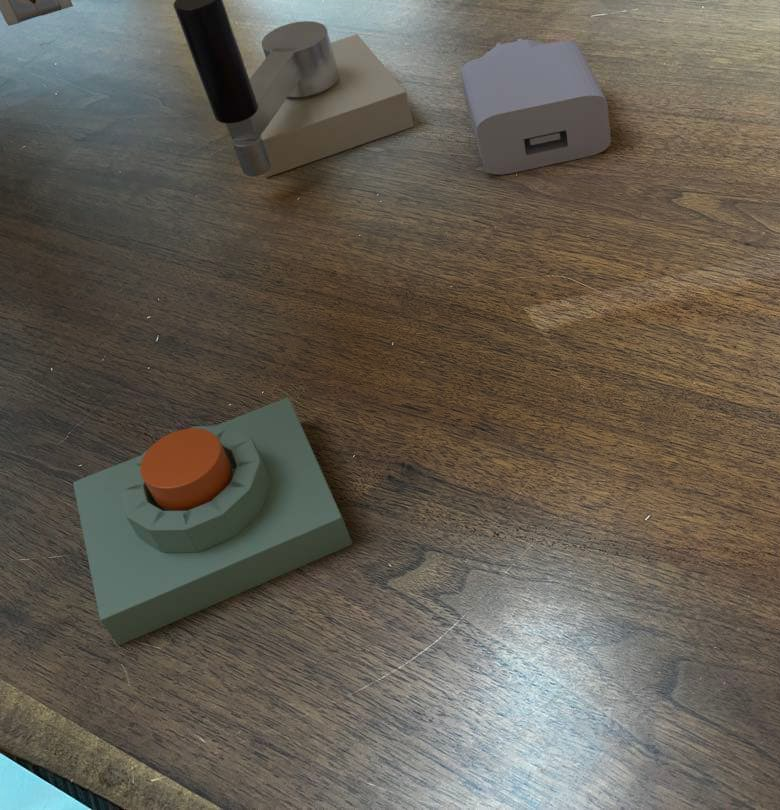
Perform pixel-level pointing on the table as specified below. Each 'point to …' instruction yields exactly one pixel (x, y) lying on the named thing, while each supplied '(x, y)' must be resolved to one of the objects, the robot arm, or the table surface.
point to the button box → (208, 527)
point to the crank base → (337, 111)
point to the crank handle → (271, 83)
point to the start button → (186, 469)
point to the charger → (534, 106)
